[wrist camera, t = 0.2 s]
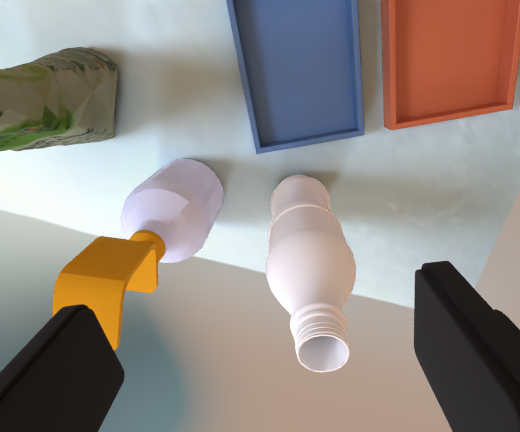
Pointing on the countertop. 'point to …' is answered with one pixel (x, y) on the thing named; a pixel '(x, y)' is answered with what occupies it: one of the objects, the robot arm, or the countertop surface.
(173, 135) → the countertop surface
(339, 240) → the water bottle
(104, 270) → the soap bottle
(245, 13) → the blue tray
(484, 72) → the terracotta tray
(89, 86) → the pouch
